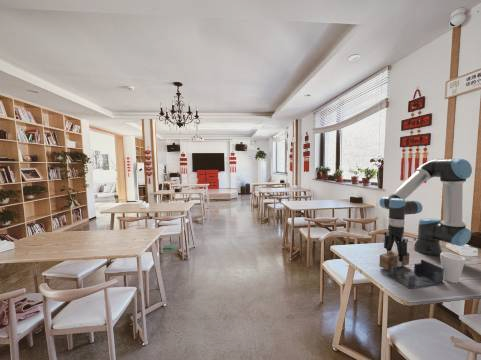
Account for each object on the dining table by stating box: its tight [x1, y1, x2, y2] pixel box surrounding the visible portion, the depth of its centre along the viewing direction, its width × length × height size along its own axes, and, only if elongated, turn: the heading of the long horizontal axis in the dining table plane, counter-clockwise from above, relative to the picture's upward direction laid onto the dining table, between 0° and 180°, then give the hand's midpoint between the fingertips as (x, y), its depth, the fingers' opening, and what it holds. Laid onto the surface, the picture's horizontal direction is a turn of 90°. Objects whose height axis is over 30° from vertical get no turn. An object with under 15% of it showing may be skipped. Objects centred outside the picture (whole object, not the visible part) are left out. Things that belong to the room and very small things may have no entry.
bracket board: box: [386, 259, 446, 290], centre depth 118 cm, size 22×13×8 cm, turn 102°
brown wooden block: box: [378, 250, 410, 271], centre depth 131 cm, size 18×5×7 cm, turn 111°
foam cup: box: [439, 252, 466, 284], centre depth 118 cm, size 10×9×13 cm
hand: (394, 263), depth 131 cm, fingers closed on brown wooden block, 6 cm apart
